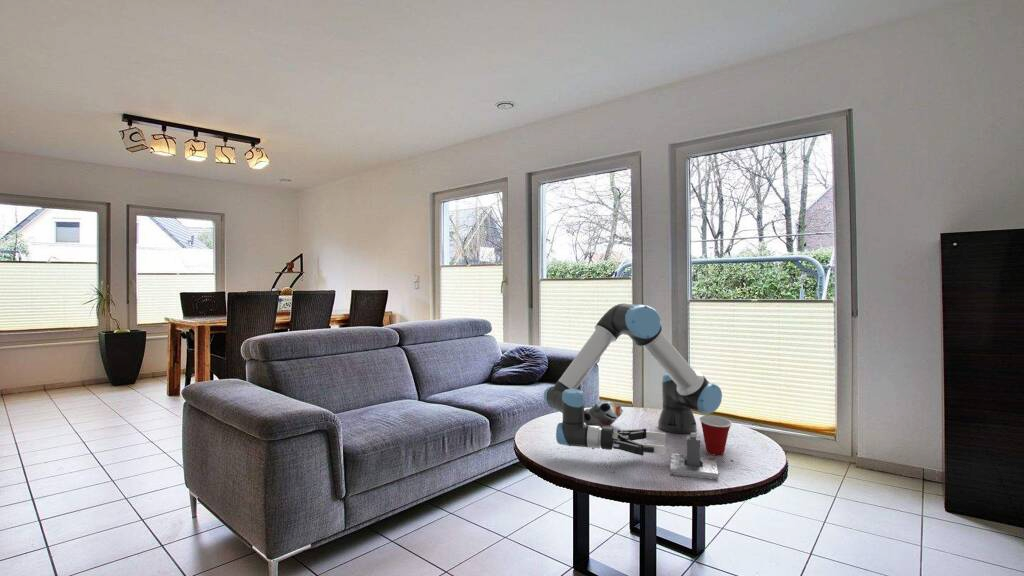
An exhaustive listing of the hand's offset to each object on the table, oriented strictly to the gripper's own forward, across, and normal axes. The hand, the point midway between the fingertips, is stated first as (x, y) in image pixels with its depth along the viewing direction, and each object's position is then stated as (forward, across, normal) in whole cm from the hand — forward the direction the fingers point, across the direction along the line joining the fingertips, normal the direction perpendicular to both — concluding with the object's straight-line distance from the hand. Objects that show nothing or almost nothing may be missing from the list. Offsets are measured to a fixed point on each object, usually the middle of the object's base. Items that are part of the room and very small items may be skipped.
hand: (665, 443), depth 168 cm
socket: (+9, 0, -8) cm, 12 cm away
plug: (+9, 0, -7) cm, 11 cm away
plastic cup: (+17, -18, -8) cm, 26 cm away
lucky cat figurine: (-26, -39, -8) cm, 48 cm away
